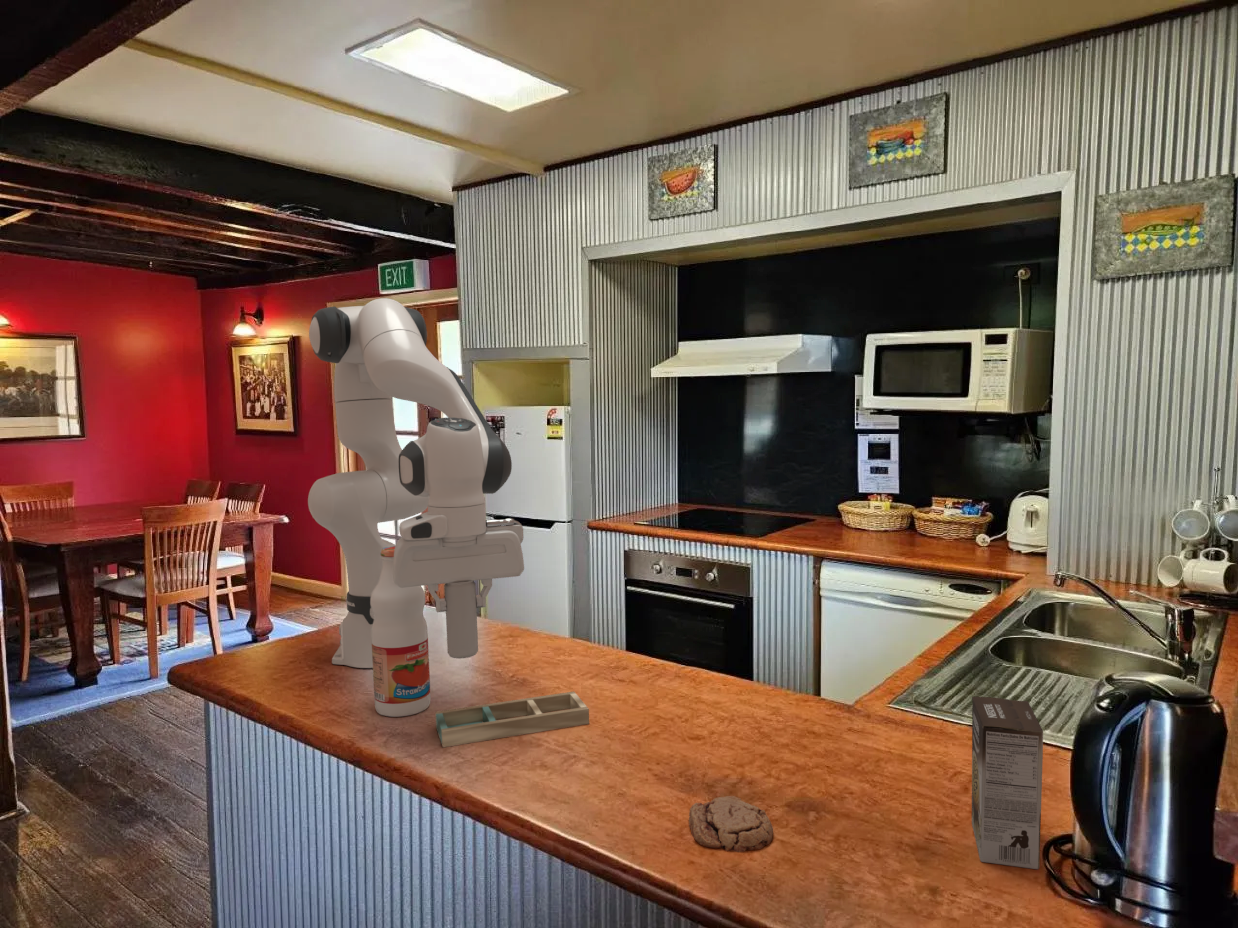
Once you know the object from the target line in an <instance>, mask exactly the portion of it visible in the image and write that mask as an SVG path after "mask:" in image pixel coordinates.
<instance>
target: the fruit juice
mask: <svg viewBox="0 0 1238 928" xmlns="http://www.w3.org/2000/svg"><path fill="white" fill-rule="evenodd" d="M394 550H395V546H391V547H385V548H383V549H381V559H383V567H382V571H381V575H380V579H379V581H378V584H377V585H376V587H375V588H374V590H373V592H372V594H371V599H370V605H371V609H372V612H373V615H374V622H373V624H372V629H371V643H372V661H373V668H372V677H373V695H374V696H373V697H374V698H373V699H374V707H375V710H376V713H378V714H379V715H381V716H384V717H385V716H386V717H392V718H393V717H395V718H397V717H399V718H400V717H407V716H412V715H415V714H416V715H417V714H419V713H421V712H423V711H425V710H426V709H428V707H429V706H430V704H431V699H432V698H431V678H430V658H429V657H430V654H429V633H428V624H427V620H426V618H425V616H424V608H425V605H426V595H425V590H424V588H423V587H422V586H413V587H403V588H400V587H398V586H397V585H396V584H395V583H394V581H393V558H394Z"/></svg>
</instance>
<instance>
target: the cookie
mask: <svg viewBox="0 0 1238 928" xmlns="http://www.w3.org/2000/svg"><path fill="white" fill-rule="evenodd" d="M688 813H689V815H688V816H689V818H688V826H689V828H690V831H691V832H690V833H691V835H692V836H693V839H694V840H695V842H697V844H699V845H700V846H703V847H707V848H713V849H714V848H715V849H724V850H725V852H729V851H732V852H737V853H744V852H745V851H746V850H748V851H753V850H761V849H762V848H764V846H766V845H767V846H768V845H769V844H770V843H771V842H772V839H773V834H774V833H773V832H774V827H773V825H772V821H771V819H770V818H769V816H768V815H767V813H766V810H764V809H761V808H760V807H758V806H757V805H754V804H750V803H748V802H745V801H743V800H742V798H741V797H738V796H735V795H726V796H722V797H721V796H719V797H715V798H713V799H712V800H711V801H706V802H704V803H703V802H695V803H694V804H692V805H691V807H690V808H689V812H688Z"/></svg>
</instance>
